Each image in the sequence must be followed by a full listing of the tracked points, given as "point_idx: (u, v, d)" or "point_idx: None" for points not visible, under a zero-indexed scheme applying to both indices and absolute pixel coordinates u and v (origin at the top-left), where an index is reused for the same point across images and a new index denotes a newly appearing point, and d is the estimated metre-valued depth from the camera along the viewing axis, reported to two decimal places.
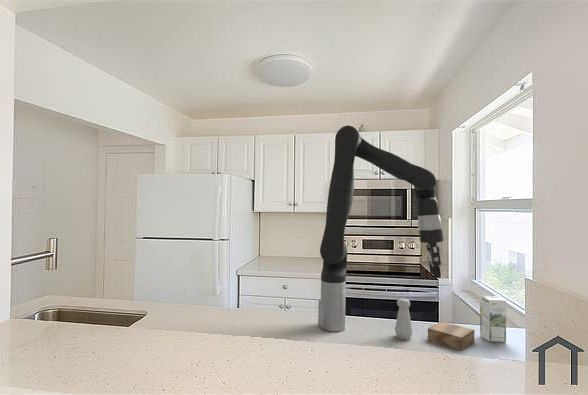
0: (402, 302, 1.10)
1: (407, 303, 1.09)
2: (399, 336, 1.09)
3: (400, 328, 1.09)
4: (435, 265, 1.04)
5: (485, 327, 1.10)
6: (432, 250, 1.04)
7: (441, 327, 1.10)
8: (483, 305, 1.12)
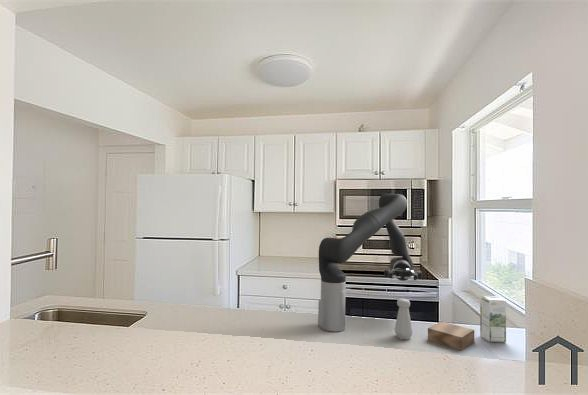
0: (402, 302, 1.10)
1: (407, 303, 1.09)
2: (399, 336, 1.09)
3: (400, 328, 1.09)
4: (419, 275, 1.25)
5: (485, 327, 1.10)
6: None
7: (441, 327, 1.10)
8: (483, 305, 1.12)
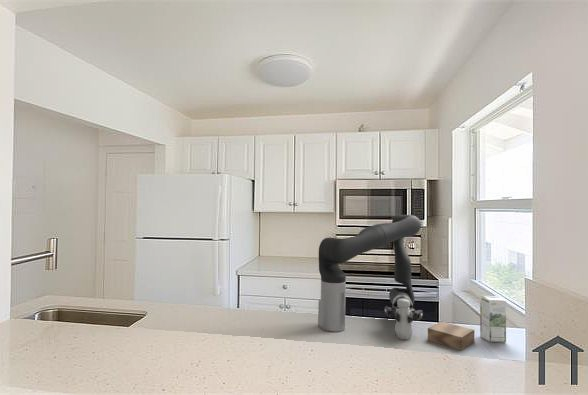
0: (402, 302, 1.10)
1: (407, 303, 1.09)
2: (399, 336, 1.09)
3: (400, 328, 1.09)
4: (414, 316, 1.11)
5: (485, 327, 1.10)
6: (421, 312, 1.15)
7: (441, 327, 1.10)
8: (483, 305, 1.12)
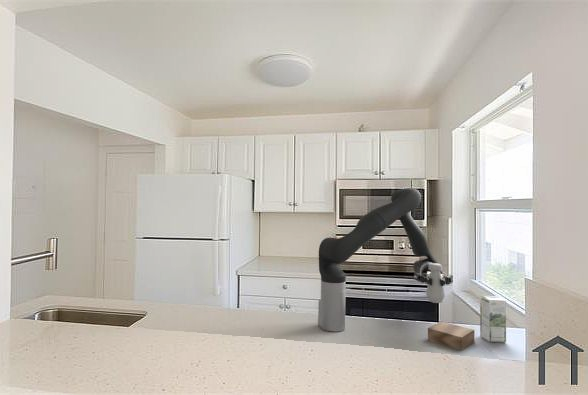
0: (434, 266, 1.09)
1: (439, 267, 1.09)
2: (431, 300, 1.09)
3: (433, 292, 1.09)
4: (446, 280, 1.11)
5: (485, 327, 1.10)
6: (452, 276, 1.14)
7: (441, 327, 1.10)
8: (483, 305, 1.12)
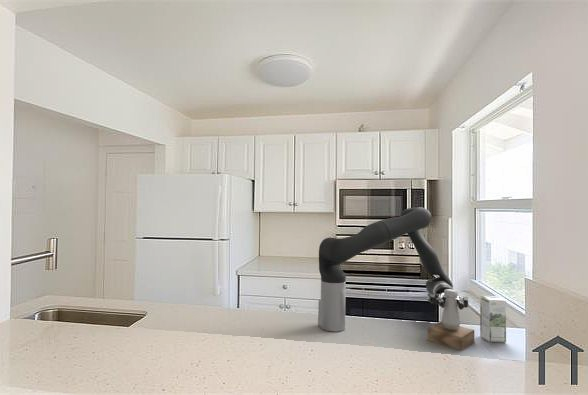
0: (450, 292, 1.08)
1: (455, 293, 1.08)
2: (447, 327, 1.08)
3: (448, 319, 1.07)
4: (465, 302, 1.09)
5: (485, 327, 1.10)
6: None
7: (441, 327, 1.10)
8: (483, 305, 1.12)
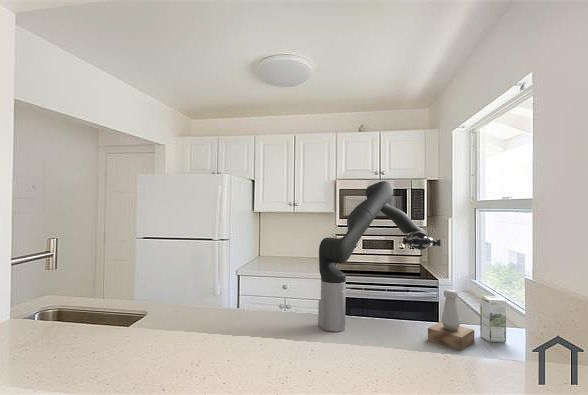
0: (450, 293, 1.08)
1: (455, 294, 1.08)
2: (447, 327, 1.08)
3: (448, 319, 1.07)
4: (438, 241, 1.27)
5: (485, 327, 1.10)
6: None
7: (441, 327, 1.10)
8: (483, 305, 1.12)
